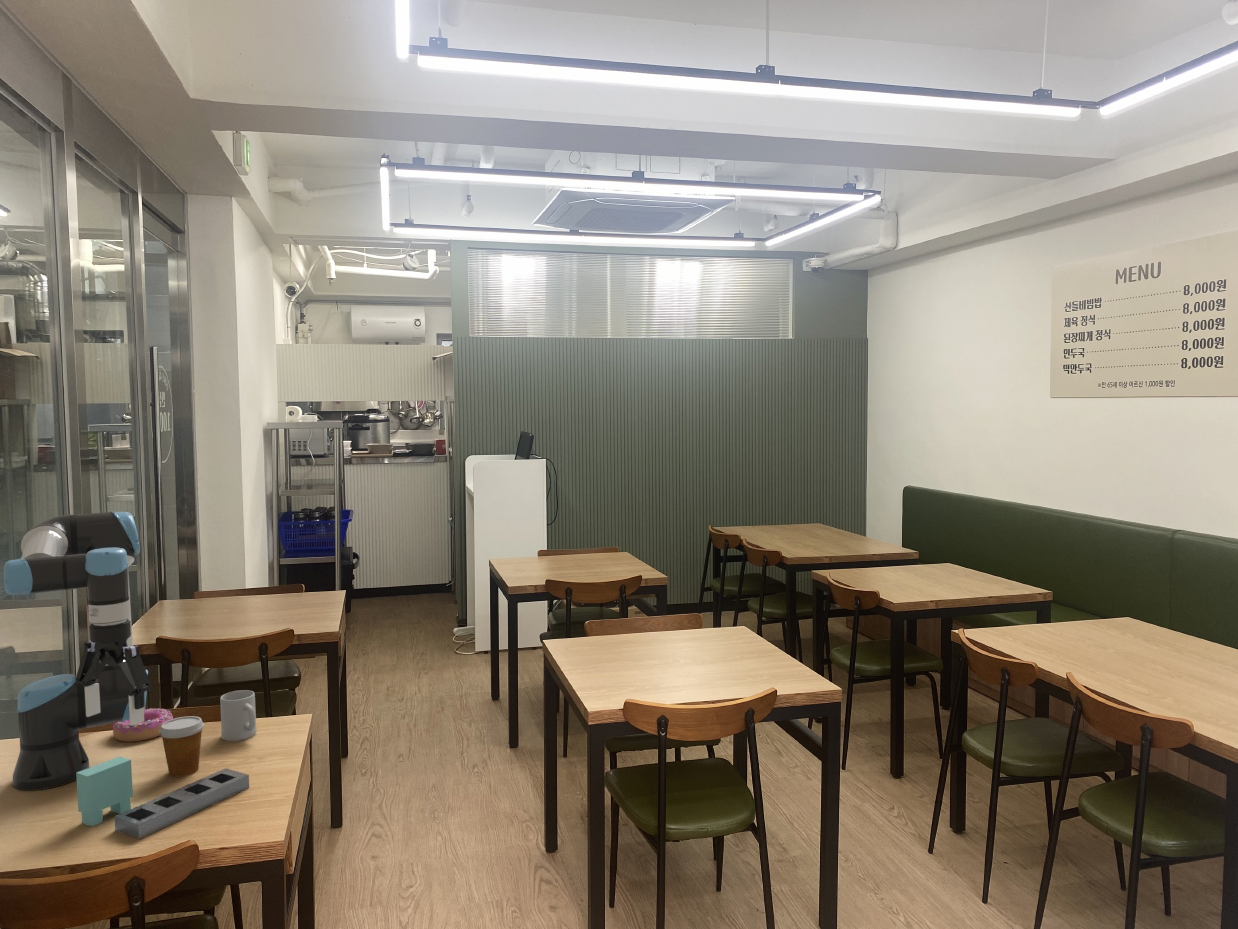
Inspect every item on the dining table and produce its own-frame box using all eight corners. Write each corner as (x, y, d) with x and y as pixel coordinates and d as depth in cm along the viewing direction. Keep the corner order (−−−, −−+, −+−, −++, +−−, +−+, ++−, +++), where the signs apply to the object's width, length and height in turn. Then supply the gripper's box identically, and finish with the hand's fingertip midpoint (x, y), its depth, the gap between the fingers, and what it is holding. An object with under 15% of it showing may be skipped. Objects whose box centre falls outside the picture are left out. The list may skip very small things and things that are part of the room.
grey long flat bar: (115, 830, 172) (114, 816, 172) (226, 780, 195) (225, 768, 195) (139, 839, 168) (138, 825, 168) (249, 787, 191) (248, 774, 191)
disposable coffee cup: (187, 781, 195) (184, 731, 194) (152, 778, 197) (149, 728, 196) (214, 764, 204) (212, 716, 203) (180, 761, 206) (178, 714, 205)
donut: (185, 727, 230) (184, 709, 229) (139, 747, 216) (138, 728, 216) (147, 721, 235) (146, 704, 234) (100, 740, 221) (99, 721, 221)
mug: (215, 736, 222) (213, 696, 221) (246, 727, 229) (244, 687, 228) (238, 747, 215) (236, 705, 214) (269, 736, 222) (268, 696, 221)
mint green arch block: (79, 823, 175) (76, 772, 174) (122, 805, 183) (119, 756, 183) (90, 827, 173) (87, 776, 173) (133, 809, 181) (131, 759, 181)
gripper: (53, 620, 178) (58, 716, 180) (134, 631, 168) (139, 733, 170) (87, 612, 185) (92, 705, 186) (167, 622, 175) (172, 720, 177)
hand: (115, 719), depth 178 cm, fingers open, 13 cm apart
